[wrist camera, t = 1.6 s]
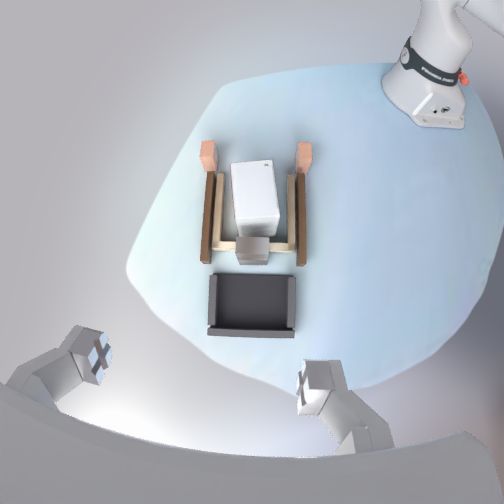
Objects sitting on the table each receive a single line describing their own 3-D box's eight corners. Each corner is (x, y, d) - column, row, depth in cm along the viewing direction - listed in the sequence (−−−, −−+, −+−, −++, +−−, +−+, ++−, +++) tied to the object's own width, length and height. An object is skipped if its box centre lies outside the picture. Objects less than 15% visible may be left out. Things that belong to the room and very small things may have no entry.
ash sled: (292, 180, 46) (299, 152, 37) (293, 265, 43) (302, 254, 35) (219, 178, 46) (211, 150, 38) (213, 263, 44) (202, 252, 35)
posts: (306, 158, 47) (311, 142, 42) (307, 173, 47) (312, 159, 42) (206, 156, 48) (201, 140, 43) (205, 171, 47) (199, 156, 42)
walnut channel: (301, 181, 46) (304, 173, 43) (303, 266, 44) (306, 263, 41) (210, 179, 47) (207, 171, 44) (203, 263, 44) (200, 260, 41)
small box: (235, 192, 46) (229, 161, 36) (269, 189, 46) (272, 157, 36) (239, 241, 45) (233, 220, 34) (275, 237, 45) (280, 216, 34)
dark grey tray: (293, 276, 43) (295, 273, 40) (291, 336, 42) (294, 338, 39) (213, 273, 44) (209, 271, 41) (210, 333, 42) (207, 335, 39)
